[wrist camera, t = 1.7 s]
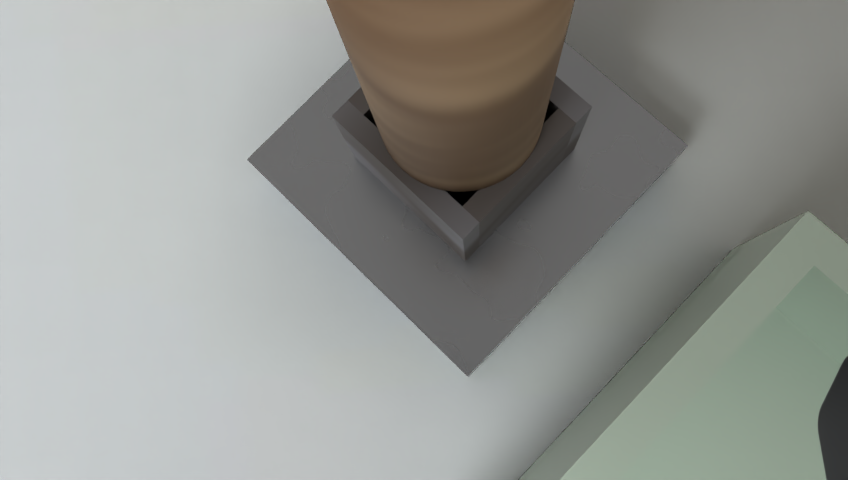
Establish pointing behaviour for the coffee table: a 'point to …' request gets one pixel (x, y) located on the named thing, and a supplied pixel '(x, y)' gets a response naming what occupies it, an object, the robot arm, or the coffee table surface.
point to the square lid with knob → (420, 246)
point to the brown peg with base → (459, 104)
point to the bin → (725, 374)
